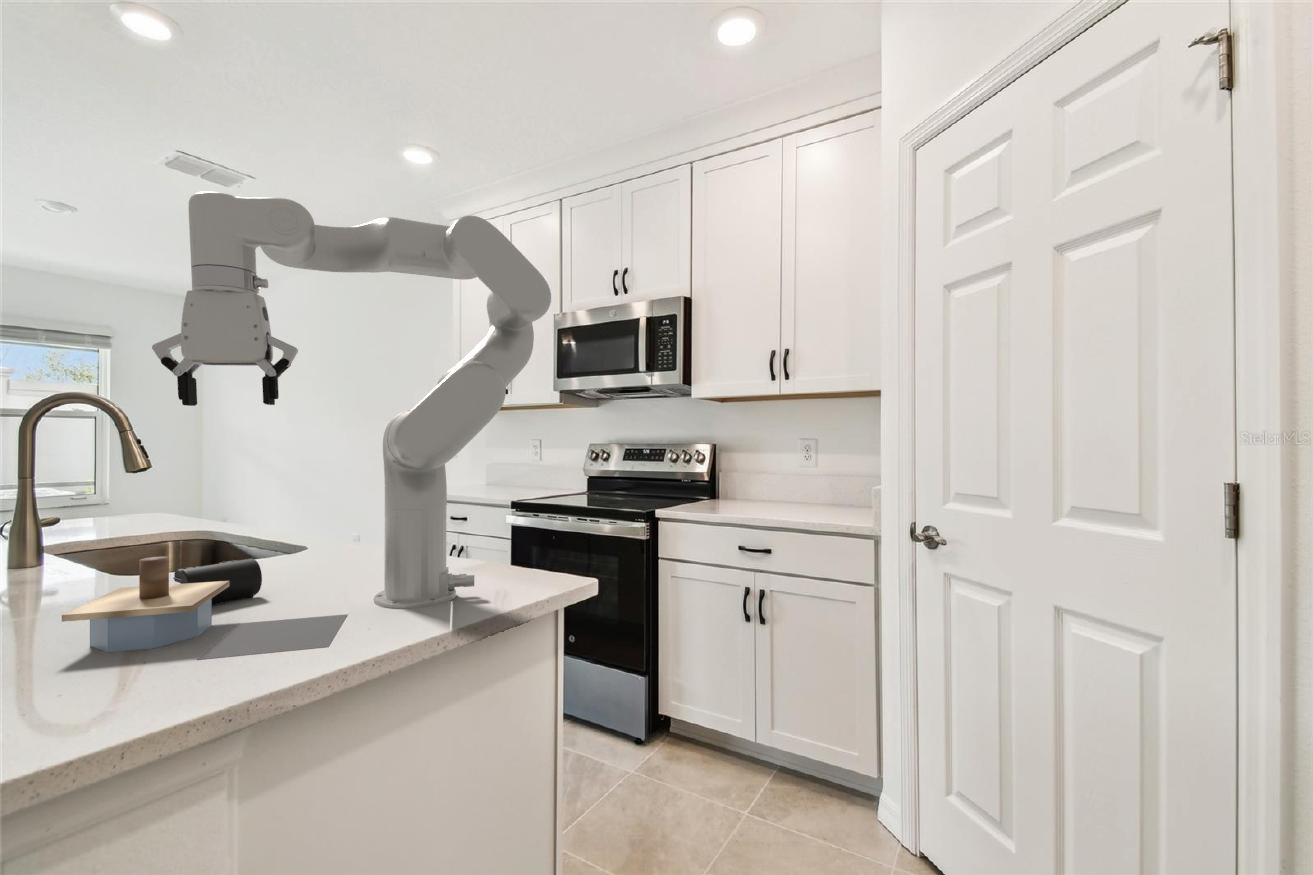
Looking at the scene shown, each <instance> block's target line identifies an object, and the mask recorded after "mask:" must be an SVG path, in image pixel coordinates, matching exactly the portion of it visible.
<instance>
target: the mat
mask: <svg viewBox="0 0 1313 875" xmlns="http://www.w3.org/2000/svg"><path fill="white" fill-rule="evenodd" d="M348 616H349V615H348V614H336V615H324V616H323V615H322V616H313V617H311V616H310V617H302V618H301V617H298V618H289V619H286V618H285V619H275V620H264V621H253V622H250V621H249V622H239V623H237V624H236V625H234V627H232V628H231V629H230V630H229V631H228V632H227V633H225V635H223V636H222V637H220V639H219V640H218V641H216V643H214V644H213V645H212V646H211V647H209V649H207V650H206V651H205V652H204V653H203V654H202V655H201V656H199V657H198V658H196V661H202V660H210V659H211V660H213V659H223V658H231V657H244V656H251V655H252V656H253V655H262V654H273V653H281V652H292V651H302V650H303V651H305V650H313V649H324V648H325V649H326V648H329V647H330V645H331V644H332V642H333V641H334V639H335V637H336V636H337V634H338V632H339V630H340V628H341V627H342V625H343V624H344V622H345V620H346V619H347V617H348Z"/></svg>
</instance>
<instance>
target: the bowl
mask: <svg viewBox="0 0 1313 875" xmlns="http://www.w3.org/2000/svg"><path fill="white" fill-rule="evenodd" d="M212 608H213V605H212V598H211V599H210V600H208V601H207V602H205V603H204V604H203V605H201V606H200V607H198V608H197V609H195V610H194V611H192V612H182V613H169V614H156V615H143V616H130V617H117V618H104V619H91V620H89V647H90V648H91V647H92V648H95V649H98V650H100V651H103V652H106V653H114V652H124V651H125V652H126V651H136V650H147V649H156V648H160V647H163V646H167V645H170V644H174V643H177V642H181V641H186V640H189V639H192V638H193V639H194V638H196V637H199V636H200V635H201V634H203V633H204V632H206V630H208V629H209V628H210V627H212V625H213V624H212V623H213V622H212V620H213V618H212V617H213V614H212V613H213V612H212V611H213V610H212Z"/></svg>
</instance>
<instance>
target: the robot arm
mask: <svg viewBox="0 0 1313 875" xmlns="http://www.w3.org/2000/svg"><path fill="white" fill-rule="evenodd" d="M188 225H189V226H188V227H189V246H190V249H189V250H190V270H191V272H190V273H191V290H187V291H186V295H185V299H184V303H183V307H182V314H181V327H180V328H181V330H180V333H177V334H176V335H173V336H171V337H168V338H166V339H163V340H161V341H158V342H155V343H154V344H152V346H151V349H152V350H153V352H154V353H155V355H156V357H157V358H158V359H159V361H160V363H161V365H163V366H164V367H165V368H166V369H168V370H169V371H170V372H171V373H172V374H173V376H175V377H177V396H178V399H179V400H180V401H181V404H182V405H183V406H192V407H193V406H195V407H196V406H197V405H198V393H197V391H198V390H197V386H198V385H197V379H196V378H195V377H193V375H194V373H195V372H196V371H197V370H198V369H199V368H200V367H201V366H202V365H205V366H239V367H241V366H242V367H243V366H247V367H249V366H250V367H251V366H254V367H255V366H258V368H260V369H261V370H262V371H263V372H264V375H263V377H262V379H261V380H262V381H261V383H262V402H263V404H265V405H267V406H275V404H276V403H275V402H276V400H278V399H279V396H280V395H279V378H280V377H281V376H282V375H283V373H284V372H285V371H287V369H289V368H290V367H291V366H292V362H293V361H294V359H295V358H296V356H297V354H298V353H299V348H297V347H295V346H294V345H291V344H290V343H287V342H285V341H283V340H281V339H278V338H276V337H274V336H272V331H271V330H272V329H271V324H270V316H269V313H268V308H267V303H266V301H265V297H263V296H261V295H260V293H259V291H260V290H262V289H268V288H269V280H268V279H267V278H262V277H259V276H258V275H257V259H256V257H257V256H256V250H257V248H258V247H260V248H261V250H262V252H263V254H264V255H265V256H266V257H268V259H270V260H271V261H273V262H274V263H276V264H279V265H282V266H284V267H287V268H288V267H289V268H293V269H300V270H301V269H303V270H309V271H319V272H328V273H329V272H330V273H382V272H383V273H386V272H390V273H397V274H398V273H400V274H410V275H418V276H428V277H435V278H444V279H445V278H446V279H451V280H463V281H464V280H465V281H466V280H472V279H476V278H478V279H479V280H480V282H482V283H483V284H484V285H485V286H486V287H487V288H488V290H490V292H489V294H488V296H487V300H486V311H487V316H488V320H489V322H488V323H489V328H488V332H487V334H486V335H485V337H484V338H483V339H482V340H481V341H480V342H479V343H477V345H476V346H475V347H474V348H473V349H472V350H471V351H469V352H468V354H466V355H465V356H464V357H463V358H462V359H461V360H460V361H459V362H457V363H456V364H455V365H454V366H453V367H451V368H449V369H448V370H446V371H445V372H444V373H443V374H442V375H441V377H440V378H439V379H438V381H437V383H436V386H435V387H434V388H433V389H432V390H430V392H428V394H426V396H424V397H423V398H422V399H421V400H420V401H419V402H418V403H417V404H416V405H415V406H413V407H412V408H411V409H409V410H405V411H402V412H400V413H398V414H397V415H395V416H394V417H392V418H391V420H390V421H389V423H387V426H386V427H385V430H384V432H383V436H382V458H383V472H384V473H383V474H384V590H382V591H379V592H378V593H376V594H375V595H374V597H373V603H374V604H375V605H376V606H378V607H381V608H386V609H414V608H416V609H417V608H423V607H424V608H425V607H430V606H434V605H440V604H443V603H445V602H448V601H450V602H452V601H453V600H454V599H455V598H456V595H457V590H456V588H460V587H463V588H469V587H471V588H472V587H475V574H467V573H459V574H453V573H452V572H451V573H450V572H449V566H447V505H448V504H447V503H448V501H447V500H448V498H447V497H448V495H447V494H448V493H447V491H448V490H447V489H448V488H447V473H446V464H447V463H449V461H451V460H452V459H453V458H454V457H455V456H456V455H458V454H459V452H461V451H462V450H463V449H464V448H465V447H466V446H467V445H468V444H469V443H470V442H471V441H472V440H473V439H474V438H475V437H476V436H477V435H478V434H479V433H480V432H481V431H482V430H483V429H484V428H485V426H487V425H488V424H489V423H490V422H491V421H492V420H493V419H494V418H495V417H496V415H497V414H498V413H499V411H500V410H501V408H502V406H503V405H504V402H505V399H506V392H507V387H508V385H510V384H511V383H512V381H513V380H514V379H515V378H516V377H517V376H518V375H519V374H520V373H521V372H522V370H523V369H524V368H525V367H526V366H527V365H528V363H529V361H530V359H531V357H532V353H533V349H534V343H535V342H534V341H535V337H534V336H535V334H534V326H533V322H535V321H537V320H539V319H541V318H542V317H543V316H544V315H546V314H547V312H548V310H549V309H550V306H551V303H552V292H551V288H550V286H549V283H548V282H547V280H546V279H545V277H544V276H543V275H542V273H541V272H540V271H539V269H537V268H536V267H535V266H534V265H533V264H532V262H530V261H529V260H528V258H526V256H525V255H524V254H523V253H522V252H521V251H520V250H519V249H518V248H517V247H516V246H515V245H514V244H513V243H512V242H511V240H510V239H508V238H507V237H506V236H505V235H504V234H503V233H502V231H500V230H499V229H498V227H496V226H494V225H493V224H492V223H491V222H490V221H488V220H486V219H484V218H482V217H480V216H477V215H464V216H461V217H459V218H457V219H456V220H455V221H454V222H453V224H451V226H450V225H443V224H435V223H430V222H429V223H428V222H422V221H417V220H411V219H405V218H399V217H390V216H388V217H387V216H385V217H381V218H377V219H374V220H372V221H369V222H367V223H363V224H360V225H354V226H353V225H352V226H328V225H320V224H315V221H314V218H313V216H312V214H311V212H310V211H309V210H308V209H307V208H306V207H305V206H303V205H302V204H301V203H299V202H297V201H295V200H292V199H289V198H284V197H283V198H282V197H271V196H270V197H251V196H250V197H244V196H235V195H232V194H229V193H225V192H218V191H198V192H196V193H194V194H192V195H191V196H190V197H189V200H188ZM178 347H180V349H181V350H180V351H181V356H182V358H183V359H182V360H181V361H180V362H179V361H177V360H176V359H174V357H173V356H172V355H173V354H172V353H171V352H172V350H174V349H176V348H178ZM273 347H274V348H276V349H279V350H281V351H282V353H283V354H282V356H281V358H280V359H279V360H278V361H277V362H275V364H273V363H272V362H273V359H274V350H273V349H274V348H273Z"/></svg>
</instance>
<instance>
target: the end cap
mask: <svg viewBox="0 0 1313 875" xmlns="http://www.w3.org/2000/svg"><path fill="white" fill-rule="evenodd" d="M173 574H174V576H173V580H174V582H175V583H177V584H186V583H202V582H218V581H229V587H227V588H226V589H225V590H223V591H222V592H220V593H219V594H217V595H216V596H214V597H213V598H212V606H214V605H219V604H223V603H228V602H233V601H237V600H238V601H239V600H243V599H253V598H254V597H255V595H257V594H259V592H260V590H261V588H262V584H263V574H262V569H261V567H260V564H259V563H258V561H257V560H256V559H254V558H247V559H241V560H239V559H238V560H237V559H231V560H227V561H225V560H222V561H221V562H218V563H214V564H208V565H203V566H202V565H201V566H195V565H192V566H191V567H185V566H183V567H182V568H179V569H176V570H175V572H174V573H173Z"/></svg>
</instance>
